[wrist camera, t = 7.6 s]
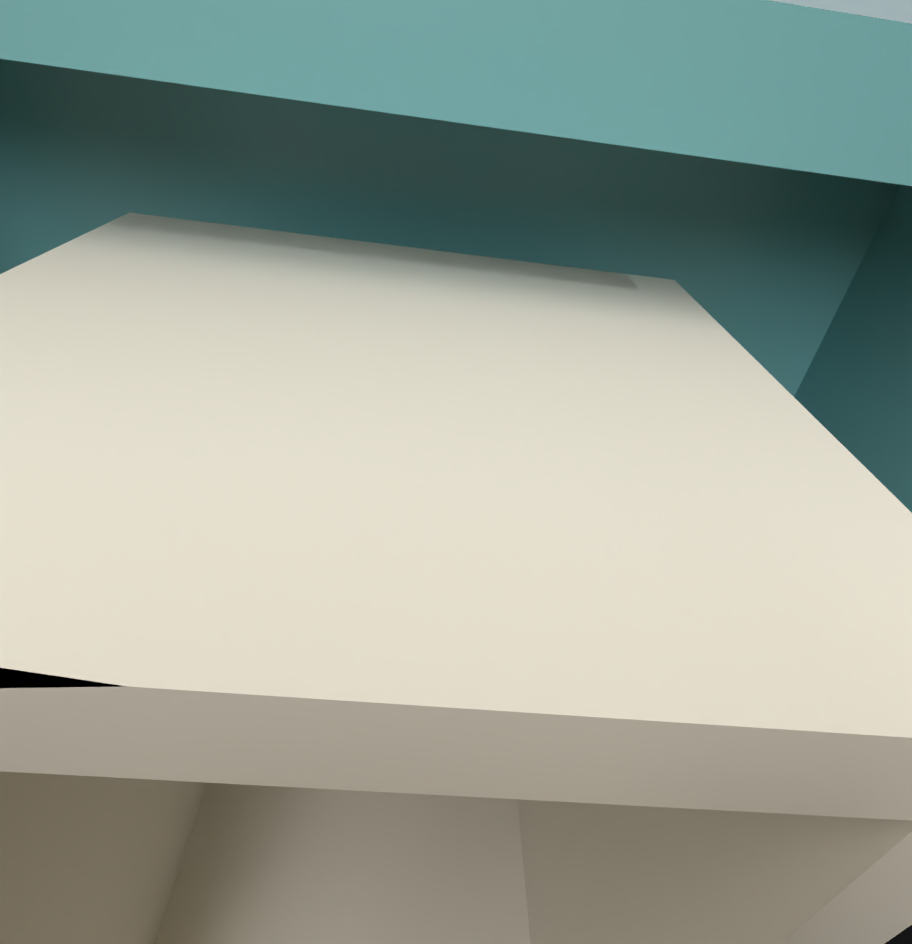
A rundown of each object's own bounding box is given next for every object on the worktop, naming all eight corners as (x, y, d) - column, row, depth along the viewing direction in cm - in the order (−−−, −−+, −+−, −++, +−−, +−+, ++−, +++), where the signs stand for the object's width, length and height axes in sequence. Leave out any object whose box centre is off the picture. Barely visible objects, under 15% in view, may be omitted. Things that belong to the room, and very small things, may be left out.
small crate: (674, 279, 7) (1156, 754, 2) (531, 713, 12) (585, 1151, 7) (129, 212, 7) (-750, 630, 2) (215, 693, 12) (47, 1147, 7)
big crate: (971, 83, 8) (1393, 101, 5) (657, 693, 16) (719, 880, 12) (-189, -98, 7) (-879, -267, 3) (83, 654, 15) (-36, 848, 11)
